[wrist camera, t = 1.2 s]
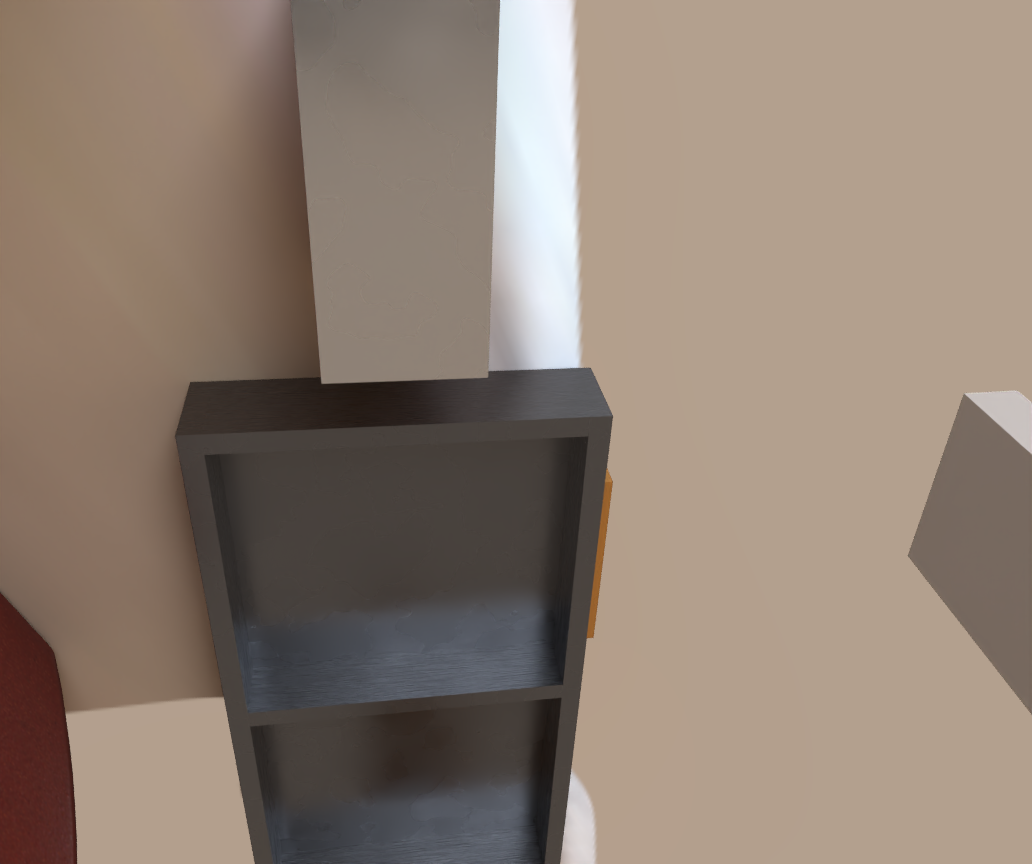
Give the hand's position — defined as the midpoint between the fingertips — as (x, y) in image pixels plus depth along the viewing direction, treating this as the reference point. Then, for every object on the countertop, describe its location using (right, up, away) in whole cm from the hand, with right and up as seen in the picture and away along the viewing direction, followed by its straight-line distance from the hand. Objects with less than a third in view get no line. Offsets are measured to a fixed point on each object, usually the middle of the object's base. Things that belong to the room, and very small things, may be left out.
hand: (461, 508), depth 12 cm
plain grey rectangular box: (-3, +11, +17) cm, 21 cm away
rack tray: (-4, -9, +30) cm, 31 cm away
